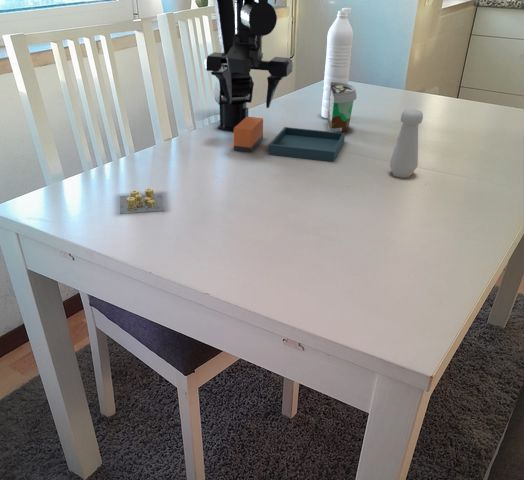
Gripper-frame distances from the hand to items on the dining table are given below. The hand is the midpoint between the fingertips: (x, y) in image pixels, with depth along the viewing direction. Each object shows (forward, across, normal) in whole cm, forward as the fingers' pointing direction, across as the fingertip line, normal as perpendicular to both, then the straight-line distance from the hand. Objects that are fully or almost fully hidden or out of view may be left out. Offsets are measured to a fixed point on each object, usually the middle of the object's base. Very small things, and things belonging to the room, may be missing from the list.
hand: (248, 105), depth 124 cm
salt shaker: (+9, +37, -8) cm, 39 cm away
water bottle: (+9, +15, +31) cm, 36 cm away
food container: (+9, +19, +19) cm, 28 cm away
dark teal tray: (+9, +14, +2) cm, 17 cm away
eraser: (+9, 0, 0) cm, 9 cm away
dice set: (+9, -9, -39) cm, 41 cm away
